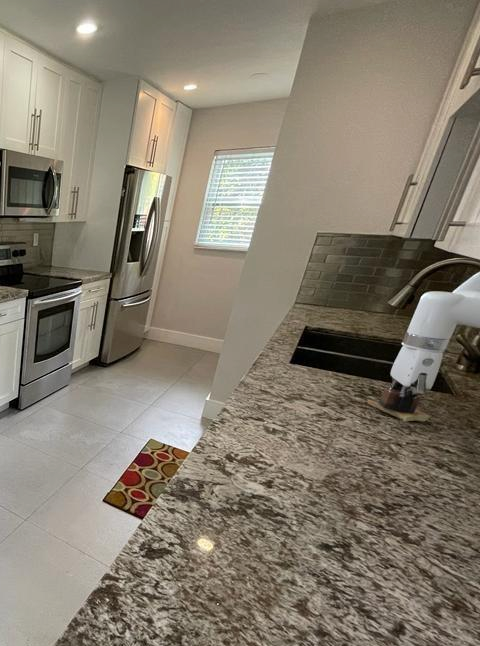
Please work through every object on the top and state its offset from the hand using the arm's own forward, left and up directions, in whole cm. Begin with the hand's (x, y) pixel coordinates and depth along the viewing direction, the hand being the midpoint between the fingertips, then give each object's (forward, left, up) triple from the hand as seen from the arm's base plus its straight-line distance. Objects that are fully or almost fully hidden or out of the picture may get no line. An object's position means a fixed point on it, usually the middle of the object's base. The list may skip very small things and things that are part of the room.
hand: (396, 407), depth 109 cm
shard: (0, 0, -2) cm, 2 cm away
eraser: (0, 0, 0) cm, 0 cm away
